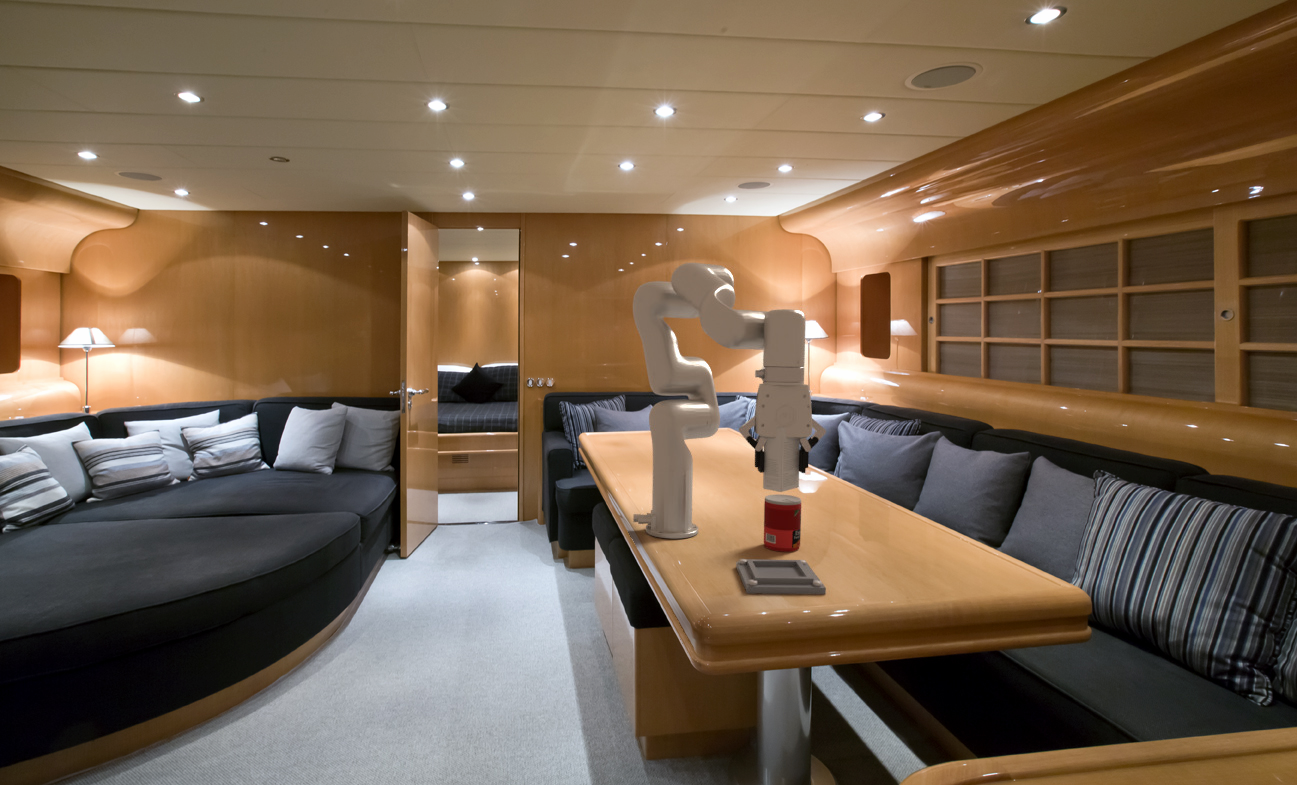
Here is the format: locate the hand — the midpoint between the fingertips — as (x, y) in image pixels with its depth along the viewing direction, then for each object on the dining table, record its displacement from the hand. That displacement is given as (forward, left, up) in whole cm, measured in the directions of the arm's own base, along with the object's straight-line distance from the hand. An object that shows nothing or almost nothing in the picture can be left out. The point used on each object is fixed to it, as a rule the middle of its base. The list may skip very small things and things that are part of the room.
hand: (781, 470), depth 120 cm
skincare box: (0, 0, -3) cm, 3 cm away
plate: (0, 0, -21) cm, 21 cm away
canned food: (+5, +21, -21) cm, 30 cm away
